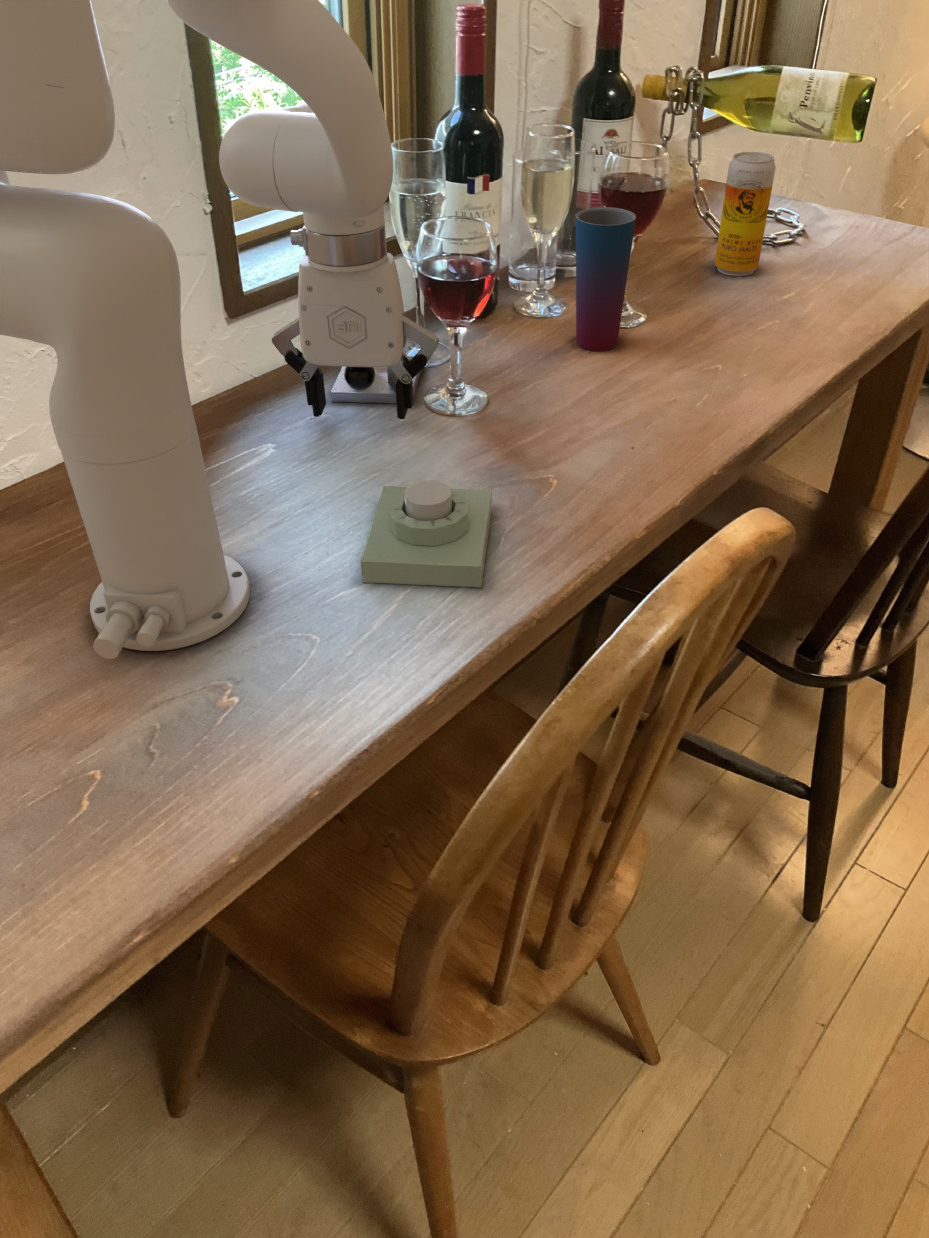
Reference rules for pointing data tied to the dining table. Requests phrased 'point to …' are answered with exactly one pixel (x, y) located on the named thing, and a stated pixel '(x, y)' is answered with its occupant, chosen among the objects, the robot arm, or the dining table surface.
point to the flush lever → (359, 377)
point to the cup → (601, 274)
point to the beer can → (744, 213)
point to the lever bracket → (370, 388)
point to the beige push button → (428, 500)
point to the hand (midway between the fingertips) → (361, 411)
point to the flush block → (428, 542)
